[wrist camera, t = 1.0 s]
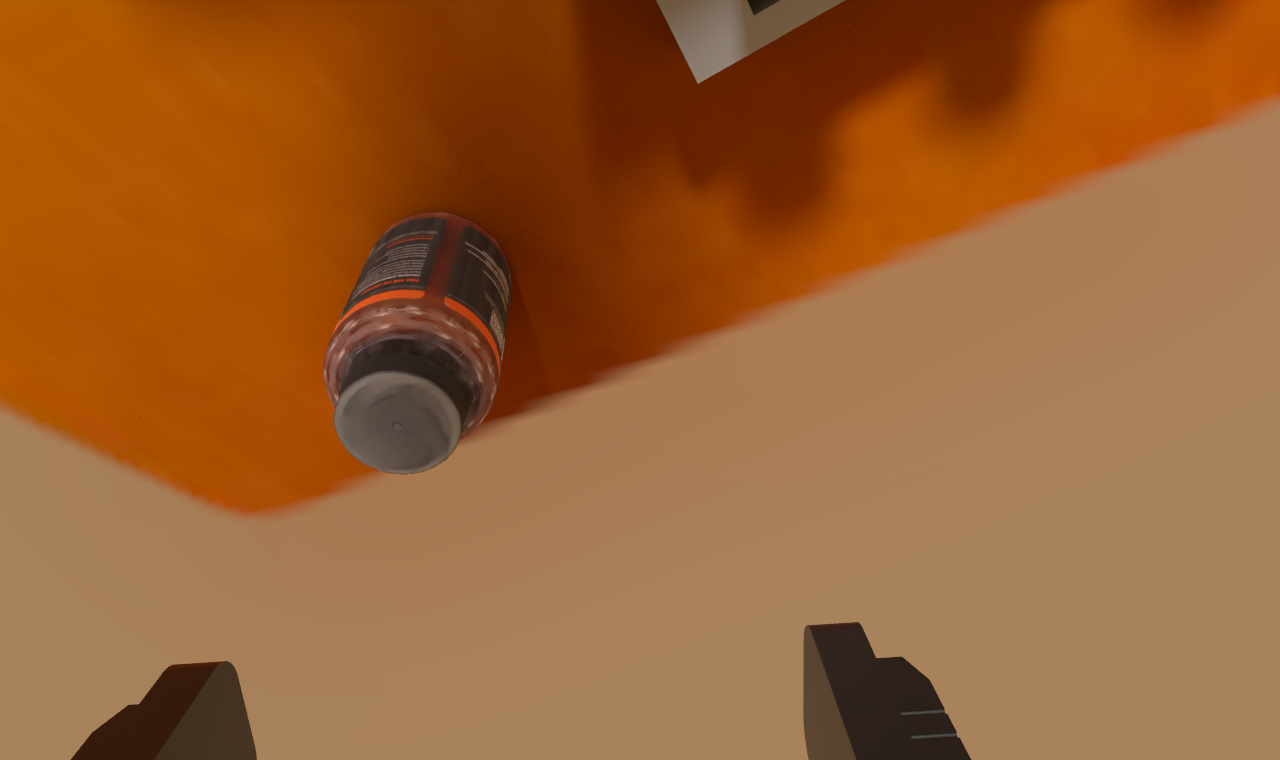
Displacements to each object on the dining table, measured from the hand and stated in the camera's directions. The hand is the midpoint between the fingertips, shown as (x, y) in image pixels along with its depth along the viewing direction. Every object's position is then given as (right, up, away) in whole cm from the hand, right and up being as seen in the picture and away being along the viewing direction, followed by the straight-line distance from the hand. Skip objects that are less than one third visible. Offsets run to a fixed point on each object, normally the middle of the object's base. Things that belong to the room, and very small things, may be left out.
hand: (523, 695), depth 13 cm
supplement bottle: (-7, +9, +25) cm, 28 cm away
